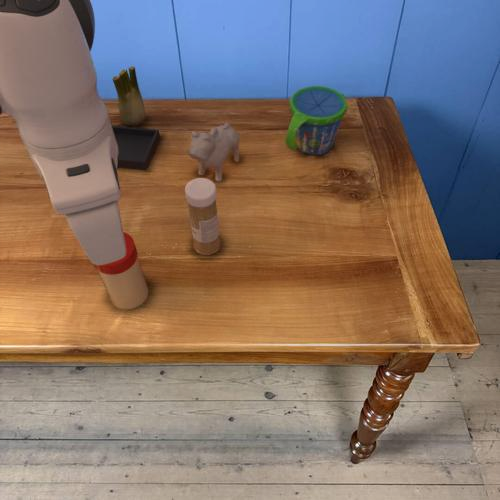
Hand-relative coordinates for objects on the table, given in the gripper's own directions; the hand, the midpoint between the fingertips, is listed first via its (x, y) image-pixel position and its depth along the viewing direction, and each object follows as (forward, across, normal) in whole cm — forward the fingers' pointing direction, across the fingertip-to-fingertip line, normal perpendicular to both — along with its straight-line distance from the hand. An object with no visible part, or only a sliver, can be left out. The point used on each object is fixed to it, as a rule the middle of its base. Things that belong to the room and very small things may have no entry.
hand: (106, 230), depth 59 cm
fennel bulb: (+15, -42, +10) cm, 46 cm away
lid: (+4, 0, 0) cm, 4 cm away
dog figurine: (+15, -22, +22) cm, 34 cm away
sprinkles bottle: (+15, -5, +14) cm, 21 cm away
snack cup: (+15, -22, +42) cm, 50 cm away
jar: (+15, 0, 0) cm, 15 cm away
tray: (+15, -36, +4) cm, 39 cm away
